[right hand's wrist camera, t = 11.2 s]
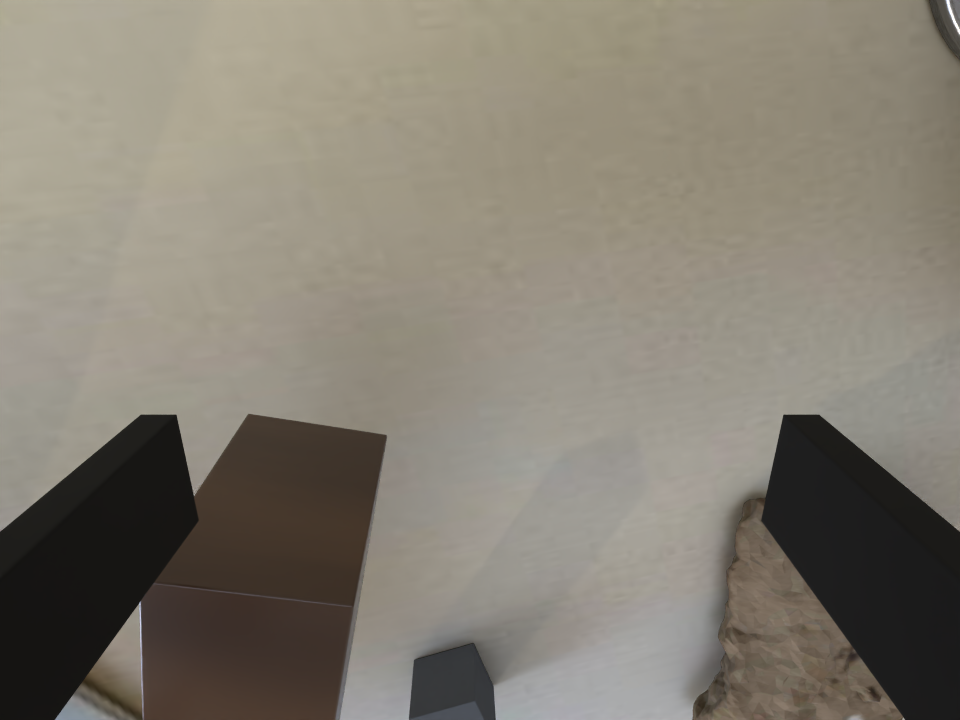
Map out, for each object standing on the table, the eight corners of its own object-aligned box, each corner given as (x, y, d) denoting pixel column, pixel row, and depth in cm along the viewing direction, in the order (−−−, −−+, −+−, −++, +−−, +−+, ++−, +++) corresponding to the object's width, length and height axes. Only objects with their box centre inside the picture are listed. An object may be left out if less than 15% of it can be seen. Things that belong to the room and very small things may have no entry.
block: (473, 642, 45) (475, 700, 41) (493, 686, 47) (497, 746, 42) (413, 659, 46) (408, 719, 41) (435, 702, 48) (433, 764, 43)
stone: (878, 744, 46) (920, 816, 40) (685, 706, 49) (697, 768, 43) (939, 499, 42) (996, 539, 36) (724, 470, 44) (744, 504, 39)
